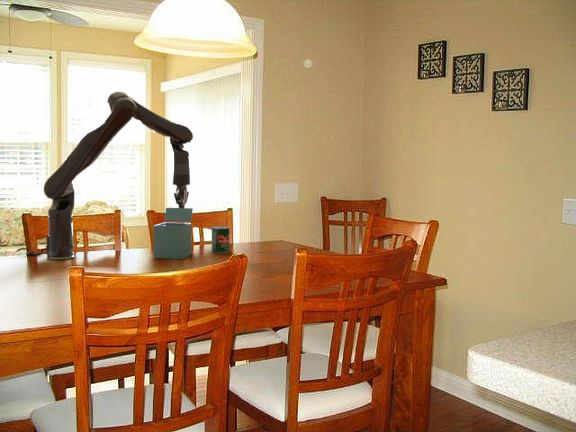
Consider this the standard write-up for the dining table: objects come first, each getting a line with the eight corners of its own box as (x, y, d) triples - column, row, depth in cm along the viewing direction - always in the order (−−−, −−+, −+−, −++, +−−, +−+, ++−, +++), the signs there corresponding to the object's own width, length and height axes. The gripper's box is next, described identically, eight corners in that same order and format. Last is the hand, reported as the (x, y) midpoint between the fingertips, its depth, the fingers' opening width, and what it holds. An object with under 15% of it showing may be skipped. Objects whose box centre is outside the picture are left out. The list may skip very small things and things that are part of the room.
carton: (154, 258, 248) (153, 225, 247) (164, 253, 260) (164, 222, 259) (181, 259, 246) (181, 226, 245) (191, 254, 258) (191, 223, 257)
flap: (166, 207, 260) (166, 207, 260) (164, 220, 258) (164, 221, 259) (192, 208, 258) (192, 208, 258) (191, 221, 256) (191, 221, 257)
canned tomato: (223, 253, 261) (223, 228, 260) (208, 252, 264) (207, 227, 263) (232, 251, 268) (232, 226, 267) (217, 250, 271) (217, 225, 270)
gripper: (184, 174, 254) (184, 215, 255) (194, 173, 267) (194, 212, 268) (167, 174, 255) (167, 214, 257) (178, 173, 268) (178, 212, 270)
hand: (181, 213), depth 263 cm, fingers closed
